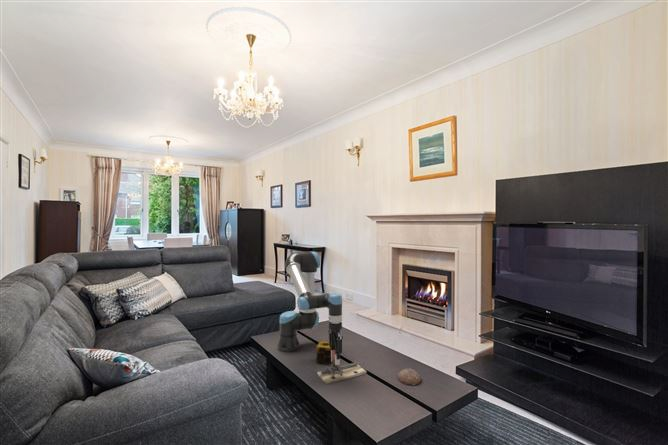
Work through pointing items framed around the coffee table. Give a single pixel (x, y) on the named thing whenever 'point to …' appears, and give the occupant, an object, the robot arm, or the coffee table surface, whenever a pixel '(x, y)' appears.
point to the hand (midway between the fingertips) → (335, 362)
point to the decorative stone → (409, 376)
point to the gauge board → (345, 375)
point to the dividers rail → (330, 370)
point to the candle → (323, 353)
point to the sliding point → (334, 363)
